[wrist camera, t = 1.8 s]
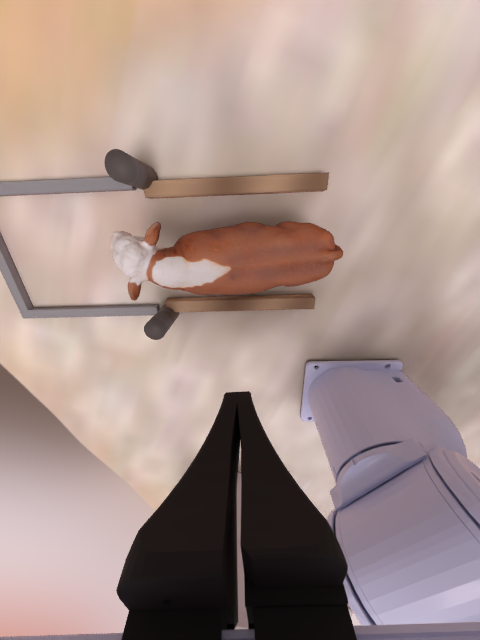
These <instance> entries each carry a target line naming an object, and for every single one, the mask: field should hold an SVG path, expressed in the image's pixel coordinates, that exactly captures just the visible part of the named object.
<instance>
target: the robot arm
mask: <svg viewBox="0 0 480 640" xmlns="http://www.w3.org/2000/svg"><path fill="white" fill-rule="evenodd" d="M387 364H388V365H387ZM316 365H318V366H317V367H314V366H316ZM386 365H387V366H386ZM402 367H403V363H402V362H401V361H399V360H365V361H310V362H308V363H307V364H306V366H305V376H304V386H303V395H302V405H301V415H300V417H301V420H302V421H315V424H316V427H317V430H318V432H319V435H320V438H321V441H322V444H323V447H324V450H325V453H326V456H327V458H328V461H329V464H330V467H331V470H332V473H333V476H334V479H335V481H336V486H335V487H334V488H333V489H332V490H331V491H330V494H331V497H332V500H333V503H334V506H335V509H334V510H332V511H331V513H330V514H329V516H328V519H327V520H326V519H325V518H324V516H323V515H322V514H321V513H320V512H319V511H318V509H317V508H316V507H315V506H314V505H313V503H312V502H311V501H310V500H309V498H308V497H307V496H306V495H305V493H304V492H303V491H302V489H301V488H300V487H299V485H298V484H297V483H296V481H295V480H294V478H293V477H292V476H291V474H290V473H289V471H288V470H287V469H286V467H285V466H284V464H283V463H282V461H281V459H280V458H279V456H278V455H277V453H276V451H275V450H274V448H273V446H272V444H271V443H270V441H269V439H268V437H267V435H266V433H265V431H264V429H263V427H262V425H261V423H260V420H259V418H258V416H257V413H256V411H255V408H254V405H253V402H252V398H251V393H250V392H249V391H248V392H229V393H225V394H224V398H223V402H222V405H221V407H220V410H219V413H218V415H217V417H216V419H215V422H214V424H213V426H212V428H211V430H210V432H209V434H208V436H207V438H206V440H205V442H204V444H203V445H202V447H201V449H200V451H199V452H198V454H197V456H196V457H195V459H194V460H193V462H192V463H191V465H190V466H189V468H188V469H187V471H186V472H185V474H184V475H183V477H182V478H181V480H180V481H179V482H178V484H177V485H176V486H175V488H174V489H173V490H172V491H171V493H170V494H169V495H168V497H167V498H166V499H165V500H164V502H163V503H162V504H161V505H160V507H159V508H158V509H157V510H156V511H155V512H154V513H153V515H152V516H151V517H150V518H149V519H148V520H147V522H146V523H145V524H144V525H143V526H142V527H141V528H140V530H139V531H138V533H137V535H136V538H135V540H134V542H133V544H132V546H131V549H130V551H129V554H128V556H127V558H126V561H125V564H124V567H123V571H122V574H121V577H120V580H119V584H118V587H117V594H118V596H119V598H120V600H121V601H122V602H123V603H124V605H125V606H126V607H127V608H128V610H129V614H128V617H127V621H126V625H125V628H124V632H123V633H111V634H79V635H51V636H50V635H48V636H16V637H0V640H480V468H479V467H477V466H476V465H475V464H474V463H472V462H471V461H470V460H469V459H467V454H466V448H465V445H464V442H463V440H462V437H461V435H460V433H459V431H458V430H457V428H456V426H455V425H454V423H453V422H452V420H451V419H450V418H449V417H448V416H447V415H446V413H445V412H444V411H443V410H441V409H440V408H439V407H438V406H437V405H436V404H435V403H434V402H433V401H432V400H431V399H430V398H429V397H428V396H427V395H426V394H425V393H424V392H423V391H422V390H421V389H420V388H419V387H417V386H416V385H415V384H414V383H413V382H412V381H411V380H410V379H409V378H408V377H407V376H406V375H405V374H404V373H403V372H402V371H401V370H402ZM240 441H241V540H240V545H241V553H242V561H243V568H244V586H245V608H246V611H247V618H248V629H237V630H234V629H235V627H236V625H237V623H238V576H237V477H238V463H239V449H240ZM347 604H349V606H350V608H351V609H352V611H353V613H354V614H355V615H356V617H357V619H358V620H359V622H360V624H361V625H362V626H353V624H352V620H351V617H350V613H349V609H348V606H347Z"/></svg>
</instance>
